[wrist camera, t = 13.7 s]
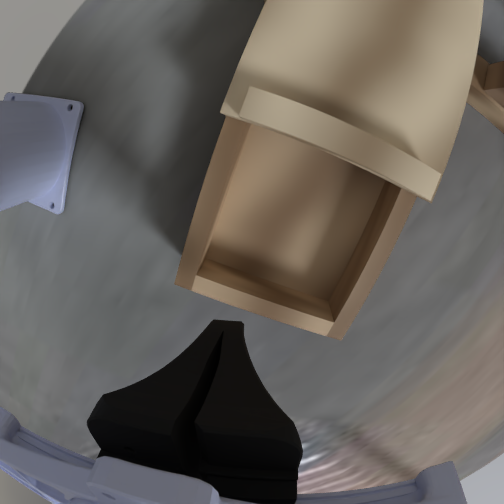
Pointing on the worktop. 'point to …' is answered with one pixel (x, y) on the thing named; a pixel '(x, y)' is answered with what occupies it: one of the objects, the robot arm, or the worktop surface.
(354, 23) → the lid
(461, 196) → the worktop surface
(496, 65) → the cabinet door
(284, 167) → the brown piece
